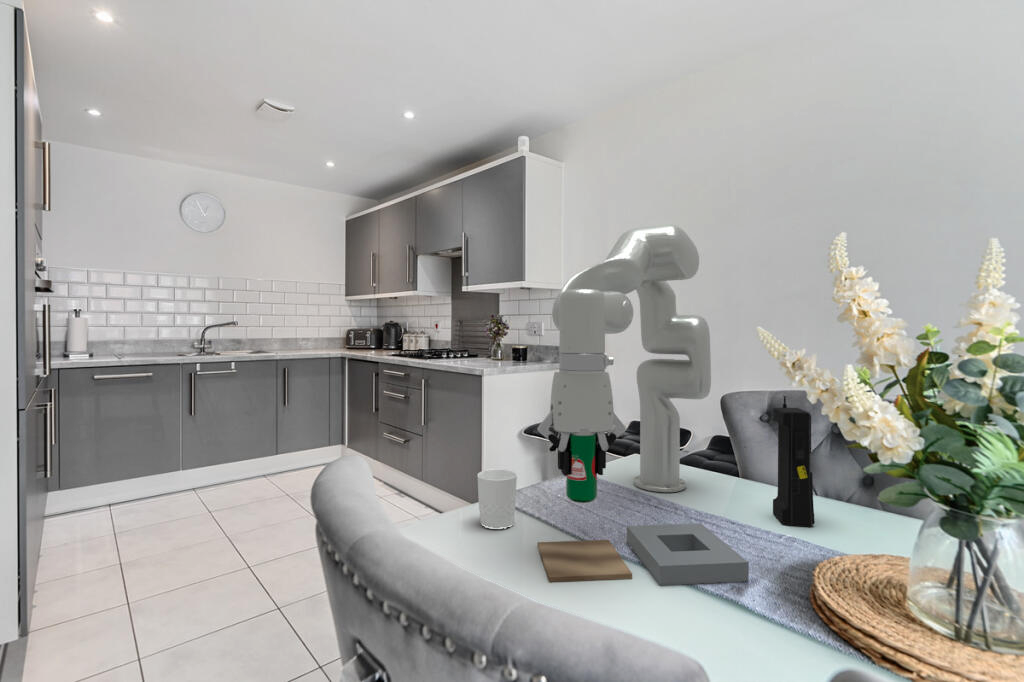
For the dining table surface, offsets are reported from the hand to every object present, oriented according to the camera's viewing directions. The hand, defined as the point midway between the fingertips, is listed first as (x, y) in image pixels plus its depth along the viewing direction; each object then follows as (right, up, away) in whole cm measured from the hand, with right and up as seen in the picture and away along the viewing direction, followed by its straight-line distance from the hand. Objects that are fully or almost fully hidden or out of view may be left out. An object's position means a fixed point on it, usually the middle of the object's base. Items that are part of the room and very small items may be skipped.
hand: (581, 472), depth 85 cm
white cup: (-14, -15, +17) cm, 27 cm away
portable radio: (+46, -15, +18) cm, 51 cm away
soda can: (0, -5, 0) cm, 5 cm away
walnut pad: (0, -15, 0) cm, 15 cm away
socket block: (+17, -15, +1) cm, 23 cm away
